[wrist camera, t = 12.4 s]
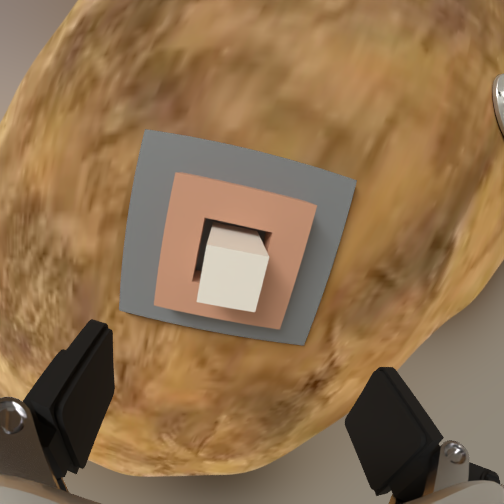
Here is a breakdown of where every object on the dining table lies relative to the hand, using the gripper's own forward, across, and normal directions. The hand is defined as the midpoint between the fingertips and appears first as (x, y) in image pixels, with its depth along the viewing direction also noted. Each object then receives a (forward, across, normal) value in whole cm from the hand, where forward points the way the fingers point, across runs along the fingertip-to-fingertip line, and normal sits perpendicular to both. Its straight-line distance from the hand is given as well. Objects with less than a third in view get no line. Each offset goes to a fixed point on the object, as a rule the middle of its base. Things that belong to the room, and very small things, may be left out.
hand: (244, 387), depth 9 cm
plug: (+18, 0, 0) cm, 18 cm away
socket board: (+19, 0, 0) cm, 19 cm away
